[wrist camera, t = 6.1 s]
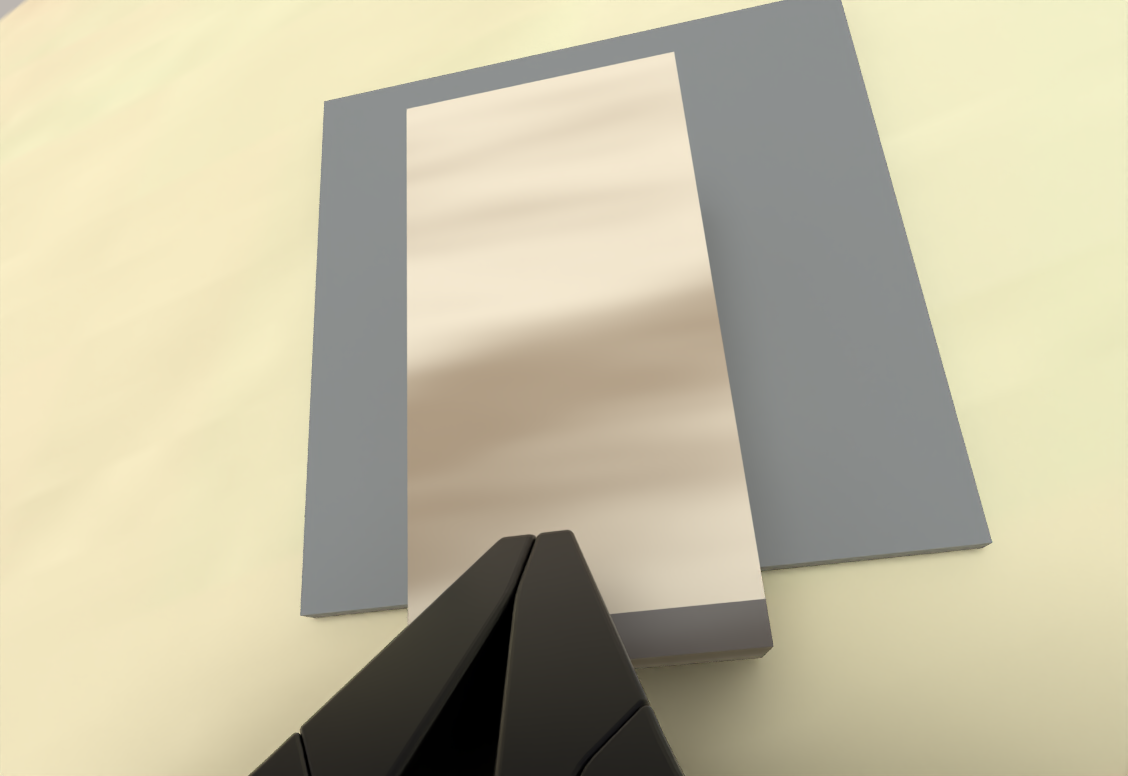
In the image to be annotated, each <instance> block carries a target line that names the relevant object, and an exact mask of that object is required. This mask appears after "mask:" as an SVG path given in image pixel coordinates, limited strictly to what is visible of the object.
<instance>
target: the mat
mask: <svg viewBox="0 0 1128 776" xmlns="http://www.w3.org/2000/svg"><path fill="white" fill-rule="evenodd" d="M670 52H674V54H675V60H676V66H677V72H678V78H679V84H680V90H681V96H682V102H683V108H684V114H685V120H686V126H687V132H688V138H689V144H690V150H691V156H692V162H693V168H694V174H695V180H696V186H697V192H698V198H699V204H700V210H701V216H702V222H703V228H704V234H705V240H706V246H707V252H708V258H709V264H710V270H711V276H712V282H713V288H714V294H715V300H716V306H717V312H718V318H719V324H720V330H721V336H722V342H723V348H724V354H725V360H726V366H727V372H728V378H729V384H730V390H731V396H732V402H733V408H734V413H735V419H736V425H737V431H738V437H739V443H740V449H741V455H742V461H743V467H744V473H745V479H746V485H747V491H748V497H749V503H750V509H751V515H752V521H753V527H754V533H755V539H756V545H757V551H758V557H759V563H760V569H761V571H765V570H775V569H784V568H794V567H803V566H813V565H823V564H832V563H842V562H851V561H861V560H870V559H880V558H889V557H899V556H909V555H918V554H928V553H937V552H947V551H956V550H966V549H975V548H983V547H985V546H987V545H989V544H991V543H992V540H991V537H990V533H989V529H988V526H987V522H986V519H985V515H984V512H983V508H982V504H981V501H980V497H979V494H978V490H977V486H976V483H975V479H974V476H973V472H972V468H971V465H970V461H969V458H968V454H967V451H966V447H965V443H964V440H963V436H962V433H961V429H960V425H959V422H958V418H957V415H956V411H955V407H954V404H953V400H952V397H951V393H950V390H949V386H948V382H947V379H946V375H945V372H944V368H943V364H942V361H941V357H940V354H939V350H938V346H937V343H936V339H935V336H934V332H933V329H932V325H931V321H930V318H929V314H928V311H927V307H926V303H925V300H924V296H923V293H922V289H921V285H920V282H919V278H918V275H917V271H916V267H915V264H914V260H913V257H912V253H911V250H910V246H909V242H908V239H907V235H906V232H905V228H904V224H903V221H902V217H901V214H900V210H899V206H898V203H897V199H896V196H895V192H894V189H893V185H892V181H891V178H890V174H889V171H888V167H887V163H886V160H885V156H884V153H883V149H882V145H881V142H880V138H879V135H878V131H877V128H876V124H875V120H874V117H873V113H872V110H871V106H870V102H869V99H868V95H867V92H866V88H865V84H864V81H863V77H862V74H861V70H860V66H859V63H858V59H857V56H856V52H855V49H854V45H853V41H852V38H851V34H850V31H849V27H848V23H847V20H846V16H845V13H844V9H843V5H842V2H841V0H783V1H779V2H774V3H770V4H765V5H761V6H756V7H751V8H747V9H742V10H738V11H733V12H729V13H724V14H720V15H715V16H711V17H706V18H701V19H697V20H692V21H688V22H683V23H679V24H674V25H670V26H665V27H661V28H656V29H651V30H647V31H642V32H638V33H633V34H629V35H624V36H620V37H615V38H611V39H606V40H601V41H597V42H592V43H588V44H583V45H579V46H574V47H570V48H565V49H561V50H556V51H552V52H547V53H542V54H538V55H533V56H529V57H524V58H520V59H515V60H511V61H506V62H502V63H497V64H492V65H488V66H483V67H479V68H474V69H470V70H465V71H461V72H456V73H452V74H447V75H442V76H438V77H433V78H429V79H424V80H420V81H415V82H411V83H406V84H402V85H397V86H392V87H388V88H383V89H379V90H374V91H370V92H365V93H361V94H356V95H352V96H347V97H343V98H338V99H333V100H329V101H324V120H323V141H322V163H321V184H320V206H319V227H318V248H317V270H316V291H315V313H314V334H313V356H312V377H311V398H310V420H309V441H308V463H307V484H306V506H305V527H304V549H303V570H302V591H301V613H300V616H306V617H313V618H316V617H326V616H335V615H345V614H354V613H364V612H373V611H383V610H392V609H402V608H408V495H407V109H409V108H414V107H418V106H423V105H428V104H432V103H437V102H442V101H446V100H451V99H456V98H460V97H465V96H470V95H474V94H479V93H484V92H488V91H493V90H498V89H502V88H507V87H512V86H516V85H521V84H526V83H530V82H535V81H540V80H544V79H549V78H554V77H558V76H563V75H568V74H572V73H577V72H582V71H586V70H591V69H596V68H600V67H605V66H610V65H614V64H619V63H624V62H628V61H633V60H638V59H642V58H647V57H652V56H656V55H661V54H666V53H670Z"/></svg>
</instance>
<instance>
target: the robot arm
mask: <svg viewBox="0 0 1128 776" xmlns="http://www.w3.org/2000/svg"><path fill="white" fill-rule="evenodd" d="M300 734H301V735H300ZM300 734H299V733H294V734H293V735H291V736H290V737H289V738H288V739H287V740H286V741H285V742H284V743H283V744H282V745H281V746H280V747H279V748H278V749H277V750H276V751H275V752H274V753H272V754H271V755H270V756H269V757H268V758H267V759H266V760H265V761H264V762H263V763H262V764H261V765H259V766H258V767H257V768H256V769H255V770H254V771H253V772H252V773H251V774H250V775H248V776H685V775H684V774H683V772H682V770H681V768H680V766H679V764H678V762H677V760H676V758H675V756H674V754H673V752H672V750H671V748H670V746H669V744H668V742H667V740H666V738H665V736H664V734H663V731H662V729H661V727H660V725H659V722H658V720H657V718H656V716H655V713H654V711H653V709H652V708H651V707H650V704H649V701H648V699H647V696H646V694H645V692H644V690H643V687H642V685H641V683H640V681H639V678H638V676H637V674H636V672H635V670H634V667H633V665H632V663H631V661H630V658H629V656H628V654H627V652H626V649H625V647H624V645H623V643H622V640H621V638H620V636H619V634H618V631H617V629H616V627H615V625H614V622H613V620H612V618H611V616H610V614H609V611H608V609H607V607H606V605H605V602H604V600H603V598H602V596H601V593H600V591H599V589H598V587H597V584H596V582H595V580H594V578H593V575H592V573H591V571H590V569H589V566H588V564H587V562H586V560H585V558H584V555H583V553H582V551H581V549H580V546H579V544H578V542H577V540H576V537H575V535H574V533H573V532H572V531H571V530H559V531H551V532H543V533H540V534H539V535H537V537H536V536H535V535H533V534H526V535H517V536H508V537H503V538H501V539H500V540H498V541H497V542H496V543H495V544H494V545H493V546H492V547H491V548H490V549H489V550H487V551H486V552H485V553H484V554H483V555H482V556H481V557H480V558H479V559H478V560H477V561H476V562H475V563H474V564H473V565H472V566H471V567H470V568H468V569H467V570H466V571H465V572H464V573H463V574H462V575H461V576H460V577H459V578H458V579H457V580H456V581H455V582H454V583H453V584H452V585H450V586H449V587H448V588H447V589H446V590H445V591H444V592H443V593H442V594H441V595H440V596H439V597H438V598H437V599H436V600H435V601H434V602H433V603H431V604H430V605H429V606H428V607H427V608H426V609H425V610H424V611H423V612H422V613H421V614H420V615H419V616H418V617H417V618H416V619H415V620H413V621H412V622H411V623H410V624H409V625H408V626H407V627H406V628H405V629H404V630H403V631H402V632H401V633H400V634H399V635H398V636H397V637H395V638H394V639H393V640H392V641H391V642H390V643H389V644H388V645H387V646H386V647H385V648H384V649H383V650H382V651H381V652H380V653H379V654H378V655H376V656H375V657H374V658H373V659H372V660H371V661H370V662H369V663H368V664H367V665H366V666H365V667H364V668H363V669H362V670H361V671H360V672H358V673H357V674H356V675H355V676H354V677H353V678H352V679H351V680H350V681H349V682H348V683H347V684H346V685H345V686H344V687H343V688H342V689H340V690H339V691H338V692H337V693H336V694H335V695H334V696H333V697H332V698H331V699H330V700H329V701H328V702H327V703H326V704H325V705H324V706H322V707H321V708H320V709H319V710H318V711H317V712H316V713H315V714H314V715H313V716H312V717H311V718H310V719H309V720H308V721H307V722H306V723H304V724H303V725H302V726H301V728H300Z"/></svg>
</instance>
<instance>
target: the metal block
mask: <svg viewBox="0 0 1128 776" xmlns="http://www.w3.org/2000/svg"><path fill="white" fill-rule="evenodd" d="M407 495H408V625H409V624H410V623H411V622H412V621H413V620H415V619H416V618H417V617H418V616H419V615H420V614H421V613H422V612H423V611H424V610H425V609H426V608H427V607H428V606H429V605H430V604H431V603H433V602H434V601H435V600H436V599H437V598H438V597H439V596H440V595H441V594H442V593H443V592H444V591H445V590H446V589H447V588H448V587H449V586H450V585H452V584H453V583H454V582H455V581H456V580H457V579H458V578H459V577H460V576H461V575H462V574H463V573H464V572H465V571H466V570H467V569H468V568H470V567H471V566H472V565H473V564H474V563H475V562H476V561H477V560H478V559H479V558H480V557H481V556H482V555H483V554H484V553H485V552H486V551H487V550H489V549H490V548H491V547H492V546H493V545H494V544H495V543H496V542H497V541H498V540H500V539H501V538H503V537H508V536H517V535H526V534H533V535H535V536H536V537H537V535H539V534H540V533H543V532H551V531H559V530H571V531H572V532H573V533H574V535H575V537H576V540H577V542H578V544H579V546H580V549H581V551H582V553H583V555H584V558H585V560H586V562H587V564H588V566H589V569H590V571H591V573H592V575H593V578H594V580H595V582H596V584H597V587H598V589H599V591H600V593H601V596H602V598H603V600H604V602H605V605H606V607H607V609H608V611H609V614H610V616H611V618H612V620H613V622H614V625H615V627H616V629H617V631H618V634H619V636H620V638H621V640H622V643H623V645H624V647H625V649H626V652H627V654H628V656H629V658H630V661H631V663H632V665H633V667H634V669H637V668H648V667H660V666H671V665H683V664H694V663H706V662H717V661H729V660H740V659H752V658H762V657H763V656H764V655H765V654H766V653H767V652H768V651H769V650H770V649H771V648H772V647H773V641H772V635H771V629H770V623H769V617H768V611H767V605H766V599H765V593H764V587H763V581H762V575H761V569H760V563H759V557H758V551H757V545H756V539H755V533H754V527H753V521H752V515H751V509H750V503H749V497H748V491H747V485H746V479H745V473H744V467H743V461H742V455H741V449H740V443H739V437H738V431H737V425H736V419H735V413H734V408H733V402H732V396H731V390H730V384H729V378H728V372H727V366H726V360H725V354H724V348H723V342H722V336H721V330H720V324H719V318H718V312H717V306H716V300H715V294H714V288H713V282H712V276H711V270H710V264H709V258H708V252H707V246H706V240H705V234H704V228H703V222H702V216H701V210H700V204H699V198H698V192H697V186H696V180H695V174H694V168H693V162H692V156H691V150H690V144H689V138H688V132H687V126H686V120H685V114H684V108H683V102H682V96H681V90H680V84H679V78H678V72H677V66H676V60H675V54H674V52H670V53H666V54H661V55H656V56H652V57H647V58H642V59H638V60H633V61H628V62H624V63H619V64H614V65H610V66H605V67H600V68H596V69H591V70H586V71H582V72H577V73H572V74H568V75H563V76H558V77H554V78H549V79H544V80H540V81H535V82H530V83H526V84H521V85H516V86H512V87H507V88H502V89H498V90H493V91H488V92H484V93H479V94H474V95H470V96H465V97H460V98H456V99H451V100H446V101H442V102H437V103H432V104H428V105H423V106H418V107H414V108H409V109H407Z"/></svg>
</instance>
